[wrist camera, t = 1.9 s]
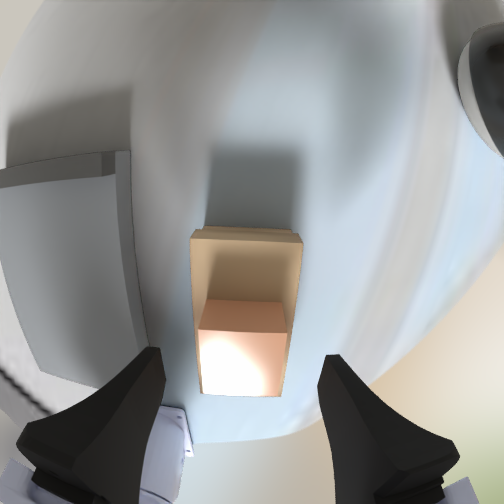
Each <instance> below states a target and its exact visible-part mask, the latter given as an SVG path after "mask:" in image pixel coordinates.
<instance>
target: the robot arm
mask: <svg viewBox="0 0 504 504" xmlns="http://www.w3.org/2000/svg"><path fill="white" fill-rule="evenodd" d="M165 383H166V376H165V372H164V367H163V362H162V357H161V352H160V348H157V347H149V346H147V347H145V348H144V349H143V350H142V351H141V352H140V353H139V354H138V355H137V356H136V357H135V358H134V359H133V360H132V361H131V362H130V363H129V364H128V365H127V366H126V367H125V368H124V369H123V370H122V371H120V372H119V373H118V374H117V375H116V376H115V377H114V378H113V379H111V380H110V381H109V382H108V383H107V384H105V385H104V386H103V387H102V388H100V389H99V390H98V391H96V392H95V393H93V394H92V395H90V396H89V397H87V398H86V399H84V400H83V401H81V402H79V403H77V404H75V405H73V406H72V407H70V408H68V409H66V410H64V411H61V412H59V413H57V414H54V415H52V416H49V417H46V418H43V419H40V420H36V421H33V422H29V423H27V425H26V426H25V428H24V430H23V432H22V433H21V435H20V437H19V439H18V440H17V442H16V445H17V448H18V449H19V451H20V452H21V453H22V454H23V455H24V456H25V457H26V458H27V459H28V460H29V461H30V462H31V463H32V464H33V465H34V466H35V467H36V470H35V472H33V471H32V470H31V469H29V468H28V467H26V466H24V465H23V464H21V463H20V462H18V461H16V460H15V459H13V458H10V460H9V461H8V463H7V465H6V467H5V469H4V471H3V474H2V475H1V478H0V501H1V502H3V503H4V504H173V503H174V502H175V500H176V498H177V497H178V493H179V488H180V482H181V476H182V470H183V464H184V459H185V456H191V457H192V456H194V450H193V446H192V442H191V438H190V434H189V429H188V425H187V420H186V416H185V412H184V411H183V410H182V409H179V408H172V407H165V406H160V404H161V401H162V398H163V393H164V388H165ZM317 388H318V396H319V404H320V408H321V412H322V416H323V420H324V424H325V427H326V431H327V435H328V439H329V443H330V447H331V452H332V460H333V468H334V479H335V496H336V497H335V498H336V504H479V502H478V499H477V497H476V494H475V492H474V490H473V487H472V485H471V483H470V480H469V478H468V477H465V478H463V479H461V480H459V481H457V482H455V483H453V484H451V485H449V486H447V487H446V488H444V489H442V486H441V484H443V483H444V480H443V477H442V476H443V475H444V474H445V473H446V472H448V471H449V470H450V469H451V468H452V467H453V466H454V465H455V464H456V463H457V461H458V460H459V458H460V455H459V453H458V451H457V449H456V447H455V445H454V443H453V441H452V440H449V439H446V438H443V437H441V436H438V435H436V434H433V433H431V432H429V431H427V430H425V429H423V428H421V427H419V426H417V425H416V424H414V423H412V422H411V421H409V420H407V419H406V418H404V417H403V416H401V415H400V414H398V413H397V412H396V411H394V410H393V409H392V408H391V407H389V406H388V405H387V404H386V403H384V402H383V401H382V400H381V399H380V398H379V397H378V396H377V395H376V394H374V393H373V392H372V391H371V390H370V389H369V388H368V386H367V385H366V384H365V383H364V382H363V381H362V380H361V379H360V378H359V377H358V376H357V375H356V373H355V372H354V371H353V370H352V369H351V368H350V366H349V365H348V364H347V363H346V362H345V361H344V359H343V358H342V357H341V356H340V355H339V354H336V355H326V357H325V360H324V364H323V368H322V371H321V375H320V378H319V382H318V385H317Z"/></svg>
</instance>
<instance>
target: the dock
mask: <svg viewBox="0 0 504 504" xmlns="http://www.w3.org/2000/svg"><path fill="white" fill-rule="evenodd" d="M0 260H1V265H2V269H3V273H4V276H5V280H6V284H7V287H8V290H9V294H10V297H11V300H12V303H13V306H14V309H15V312H16V315H17V318H18V320H19V323H20V326H21V328H22V331H23V333H24V336H25V338H26V341H27V343H28V345H29V348H30V350H31V352H32V354H33V356H34V359H35V361H36V363H37V365H38V367H39V369H40V371H42V372H45V373H48V374H51V375H54V376H57V377H60V378H63V379H66V380H69V381H72V382H76V383H79V384H83V385H86V386H90V387H94V388H97V389H100V388H102V387H103V386H104V385H105V384H107V383H108V382H109V381H110V380H111V379H113V378H114V377H115V376H116V375H117V374H118V373H119V372H120V371H122V370H123V369H124V368H125V367H126V366H127V365H128V364H129V363H130V362H131V361H132V360H133V359H134V358H135V357H136V356H137V355H138V354H139V353H140V352H141V351H142V350H143V349H144V348H145V347H147V346H149V342H148V337H147V332H146V326H145V321H144V315H143V309H142V302H141V296H140V289H139V282H138V274H137V266H136V257H135V247H134V235H133V222H132V205H131V176H130V150H126V151H109V152H97V153H89V154H81V155H74V156H67V157H60V158H54V159H48V160H43V161H37V162H32V163H27V164H22V165H18V166H13V167H9V168H5V169H1V170H0Z"/></svg>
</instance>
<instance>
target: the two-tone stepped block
mask: <svg viewBox="0 0 504 504" xmlns="http://www.w3.org/2000/svg"><path fill="white" fill-rule="evenodd" d="M302 251H303V242H302V240H301V238H300V236H299V234H297V233H292V231H291V229H271V228H249V227H224V226H204V227H203V228H202V229H196V230H195V231H194V233H193V234H192V236H191V237H190V265H191V287H192V304H193V319H194V332H195V344H196V355H197V365H198V375H199V384H200V393H202V394H207V393H204V392H203V383H202V373H201V362H200V350H199V337H198V328H199V324H200V320H201V317H202V313H203V310H204V306H205V302H206V299H214V300H233V301H257V302H282V306H283V312H284V317H285V323H286V328H287V340H286V347H285V353H284V360H283V366H282V373H281V379H280V385H279V391H278V396H256V397H281V394H282V388H283V383H284V377H285V371H286V366H287V360H288V353H289V347H290V341H291V334H292V328H293V321H294V314H295V307H296V300H297V292H298V285H299V277H300V269H301V260H302ZM214 395H221V394H214ZM230 396H239V395H230Z"/></svg>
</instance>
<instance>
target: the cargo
mask: <svg viewBox="0 0 504 504" xmlns="http://www.w3.org/2000/svg"><path fill="white" fill-rule="evenodd" d="M198 337H199V350H200V362H201V373H202V383H203V392H204V393H207V394H221V395H239V396H278V391H279V385H280V379H281V373H282V366H283V360H284V353H285V347H286V340H287V328H286V323H285V317H284V312H283V306H282V302H257V301H233V300H214V299H206V302H205V306H204V310H203V313H202V317H201V320H200V324H199V328H198Z"/></svg>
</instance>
